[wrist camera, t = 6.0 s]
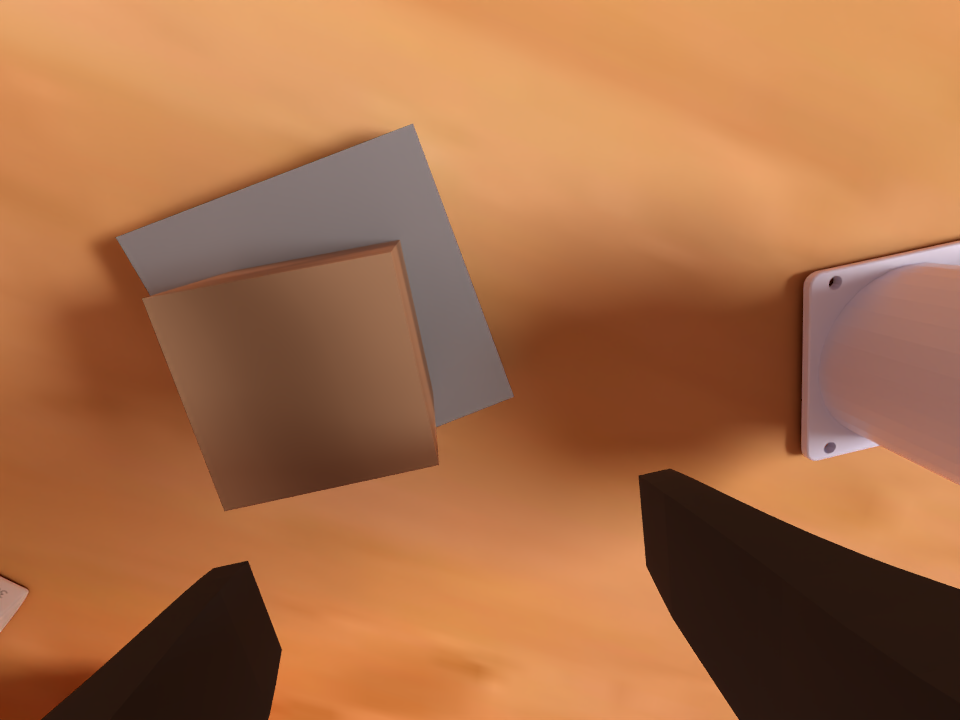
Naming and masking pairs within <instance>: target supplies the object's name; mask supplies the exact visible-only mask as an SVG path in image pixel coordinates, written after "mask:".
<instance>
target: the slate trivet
mask: <svg viewBox="0 0 960 720" xmlns="http://www.w3.org/2000/svg"><path fill="white" fill-rule="evenodd" d="M116 239H117V240H118V242H119V244H120V245H121V247H122V249H123V250H124V252H125V254H126V255H127V257H128V259H129V261H130V262H131V264H132V266H133V267H134V269H135V271H136V272H137V274H138V276H139V277H140V279H141V281H142V283H143V284H144V286H145V288H146V289H147V291H148V293H149V294H150V296H152V295H155V294H159V293H162V292H165V291H168V290H172V289H175V288H178V287H181V286H185V285H188V284H191V283H194V282H198V281H201V280H204V279H207V278H211V277H214V276H217V275H221V274H224V273H227V272H230V271H234V270H240V269H245V268H250V267H256V266H261V265H266V264H272V263H277V262H283V261H288V260H293V259H299V258H304V257H310V256H315V255H320V254H326V253H331V252H336V251H342V250H347V249H353V248H358V247H363V246H369V245H374V244H380V243H385V242H390V241H396V240H400V242H401V247H402V252H403V256H404V261H405V265H406V270H407V275H408V279H409V284H410V288H411V293H412V297H413V302H414V307H415V311H416V316H417V320H418V325H419V330H420V334H421V339H422V343H423V348H424V353H425V357H426V362H427V366H428V371H429V375H430V380H431V385H432V389H433V398H434V410H435V423H436V427H438V426H441V425H443V424H446V423H448V422H451V421H453V420H456V419H458V418H461V417H464V416H466V415H469V414H471V413H474V412H476V411H479V410H481V409H484V408H487V407H489V406H492V405H494V404H497V403H499V402H502V401H505V400H507V399H510V398H512V397H514V395H513V392H512V390H511V387H510V384H509V382H508V379H507V376H506V374H505V371H504V368H503V365H502V363H501V360H500V357H499V355H498V352H497V349H496V347H495V344H494V341H493V339H492V336H491V333H490V330H489V328H488V325H487V322H486V320H485V317H484V314H483V312H482V309H481V306H480V303H479V301H478V298H477V295H476V293H475V290H474V287H473V285H472V282H471V279H470V276H469V274H468V271H467V268H466V266H465V263H464V260H463V258H462V255H461V252H460V249H459V247H458V244H457V241H456V239H455V236H454V233H453V231H452V228H451V225H450V223H449V220H448V217H447V214H446V212H445V209H444V206H443V204H442V201H441V198H440V196H439V193H438V190H437V187H436V185H435V182H434V179H433V177H432V174H431V171H430V169H429V166H428V163H427V160H426V158H425V155H424V152H423V150H422V147H421V144H420V142H419V139H418V136H417V133H416V131H415V128H414V125H413V124H411V125H408V126H405V127H403V128H400V129H398V130H395V131H392V132H390V133H387V134H385V135H382V136H379V137H377V138H374V139H371V140H369V141H366V142H364V143H361V144H358V145H356V146H353V147H351V148H348V149H345V150H343V151H340V152H338V153H335V154H332V155H330V156H327V157H324V158H322V159H319V160H317V161H314V162H311V163H309V164H306V165H304V166H301V167H298V168H296V169H293V170H291V171H288V172H285V173H283V174H280V175H277V176H275V177H272V178H270V179H267V180H264V181H262V182H259V183H257V184H254V185H251V186H249V187H246V188H243V189H241V190H238V191H236V192H233V193H230V194H228V195H225V196H223V197H220V198H217V199H215V200H212V201H210V202H207V203H204V204H202V205H199V206H196V207H194V208H191V209H189V210H186V211H183V212H181V213H178V214H176V215H173V216H170V217H168V218H165V219H163V220H160V221H157V222H155V223H152V224H149V225H147V226H144V227H142V228H139V229H136V230H134V231H131V232H129V233H126V234H123V235H121V236H118V237H116Z"/></svg>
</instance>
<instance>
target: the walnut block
mask: <svg viewBox="0 0 960 720" xmlns="http://www.w3.org/2000/svg"><path fill="white" fill-rule="evenodd" d="M142 300H143V303H144V305H145V308H146V310H147V313H148V316H149V318H150V321H151V323H152V326H153V328H154V331H155V334H156V336H157V339H158V341H159V344H160V346H161V349H162V352H163V354H164V357H165V359H166V362H167V364H168V367H169V370H170V372H171V375H172V377H173V380H174V382H175V385H176V388H177V390H178V393H179V395H180V398H181V400H182V403H183V406H184V408H185V411H186V413H187V416H188V418H189V421H190V424H191V426H192V429H193V431H194V434H195V436H196V439H197V442H198V444H199V447H200V449H201V452H202V454H203V457H204V460H205V462H206V465H207V467H208V470H209V472H210V475H211V477H212V480H213V483H214V485H215V488H216V490H217V493H218V495H219V498H220V501H221V503H222V506H223V508H224V511H228V510H232V509H237V508H242V507H246V506H251V505H255V504H260V503H265V502H269V501H274V500H279V499H283V498H288V497H293V496H297V495H302V494H306V493H311V492H316V491H320V490H325V489H330V488H334V487H339V486H344V485H348V484H353V483H357V482H362V481H367V480H371V479H376V478H381V477H385V476H390V475H395V474H399V473H404V472H408V471H413V470H418V469H422V468H427V467H432V466H436V465H439V461H438V448H437V436H436V423H435V410H434V398H433V389H432V385H431V380H430V375H429V371H428V366H427V362H426V357H425V353H424V348H423V343H422V339H421V334H420V330H419V325H418V320H417V316H416V311H415V307H414V302H413V297H412V293H411V288H410V284H409V279H408V275H407V270H406V265H405V261H404V256H403V252H402V247H401V242H400V240H396V241H390V242H385V243H380V244H374V245H369V246H363V247H358V248H353V249H347V250H342V251H336V252H331V253H326V254H320V255H315V256H310V257H304V258H299V259H293V260H288V261H283V262H277V263H272V264H266V265H261V266H256V267H250V268H245V269H240V270H234V271H230V272H227V273H224V274H221V275H217V276H214V277H211V278H207V279H204V280H201V281H198V282H194V283H191V284H188V285H185V286H181V287H178V288H175V289H172V290H168V291H165V292H162V293H159V294H155V295H152V296H149V297H146V298H142Z"/></svg>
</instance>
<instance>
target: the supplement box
mask: <svg viewBox="0 0 960 720" xmlns="http://www.w3.org/2000/svg"><path fill="white" fill-rule="evenodd" d="M28 593H29V591H28V590H27V589H26V588H24V587H22V586H19V585H17V584H15V583H13V582H11V581H9V580H7V579H5V578H3V577H1V576H0V632H1V631H2V630H3V628H4V627H5V626H6V625H7V623H8V622H9V621H10V619H11V618H12V617H13V615H14V614H15V613H16V611H17V610H18V609H19V607H20V606H21V604H22V603H23V601H24V600H25V598H26V597H27V595H28Z"/></svg>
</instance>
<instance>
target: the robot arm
mask: <svg viewBox="0 0 960 720" xmlns="http://www.w3.org/2000/svg"><path fill="white" fill-rule="evenodd" d="M832 277H833V279H834V281H833V284H832V285H831V286H830V287H829V282H830V280H831V278H832ZM827 443H828V445H827V446H826V447H825V445H826V444H827ZM876 446H882V447H884V448H886V449H888V450H890V451H892V452H894V453H896V454H898V455H900V456H902V457H904V458H906V459H908V460H910V461H912V462H914V463H916V464H918V465H920V466H922V467H924V468H926V469H928V470H930V471H932V472H934V473H936V474H938V475H940V476H942V477H944V478H946V479H948V480H950V481H952V482H954V483H956V484H958V485H960V241H955V242H950V243H946V244H941V245H936V246H932V247H927V248H922V249H918V250H913V251H908V252H904V253H899V254H894V255H890V256H885V257H880V258H876V259H871V260H866V261H862V262H857V263H852V264H848V265H843V266H838V267H834V268H829V269H824V270H820V271H816V272H813V273H811V274H810V275H809V276H808V277H807V278H806V280H805V282H804V288H803V360H802V431H801V451H802V454H803V455H804V456H805V457H807V458H809V459H810V460H813V461H816V460H821V459H825V458H830V457H834V456H838V455H842V454H846V453H851V452H855V451H859V450H863V449H867V448H872V447H876ZM824 447H825V448H824ZM639 486H640V498H641V509H642V521H643V533H644V544H645V556H646V566H647V568H648V570H649V572H650V574H651V576H652V578H653V581H654V583H655V585H656V587H657V589H658V591H659V593H660V595H661V597H662V599H663V601H664V603H665V604H666V606H667V608H668V610H669V612H670V614H671V616H672V618H673V620H674V621H675V623H676V624H677V626H678V627H679V629H680V631H681V632H682V634H683V635H684V637H685V638H686V640H687V641H688V643H689V644H690V646H691V647H692V649H693V651H694V652H695V654H696V655H697V657H698V658H699V660H700V661H701V663H702V664H703V666H704V667H705V669H706V670H707V672H708V673H709V675H710V676H711V678H712V679H713V681H714V683H715V684H716V686H717V687H718V689H719V690H720V692H721V693H722V695H723V696H724V698H725V699H726V701H727V702H728V704H729V705H730V707H731V708H732V710H733V711H734V713H735V714H736V716H737V717H738V719H739V720H960V589H957V588H954V587H952V586H949V585H946V584H943V583H940V582H937V581H934V580H931V579H928V578H926V577H923V576H920V575H917V574H914V573H911V572H908V571H905V570H903V569H900V568H897V567H894V566H891V565H889V564H886V563H883V562H881V561H878V560H875V559H873V558H870V557H867V556H865V555H862V554H860V553H857V552H855V551H852V550H850V549H847V548H845V547H843V546H840V545H838V544H835V543H833V542H830V541H828V540H825V539H823V538H821V537H818V536H816V535H813V534H811V533H809V532H806V531H804V530H802V529H800V528H797V527H795V526H793V525H790V524H788V523H786V522H784V521H781V520H779V519H777V518H775V517H773V516H771V515H768V514H766V513H764V512H762V511H760V510H758V509H755V508H753V507H751V506H749V505H747V504H745V503H743V502H741V501H739V500H736V499H734V498H732V497H730V496H728V495H726V494H724V493H722V492H720V491H718V490H716V489H714V488H712V487H709V486H707V485H705V484H703V483H701V482H699V481H697V480H695V479H693V478H691V477H688V476H686V475H684V474H682V473H679V472H677V471H675V470H672V469H667V470H662V471H657V472H653V473H648V474H644V475H639ZM281 651H282V649H281V646H280V644H279V641H278V638H277V636H276V633H275V631H274V628H273V625H272V623H271V620H270V617H269V615H268V612H267V610H266V607H265V604H264V602H263V599H262V597H261V594H260V591H259V589H258V586H257V583H256V581H255V578H254V576H253V573H252V570H251V568H250V565H249V563H248V561H245V562H240V563H236V564H231V565H226V566H222V567H217V568H213V569H212V570H211V571H209V572H208V573H207V574H205V575H204V576H203V577H202V578H200V579H199V580H198V581H197V582H196V583H194V584H193V585H192V586H191V587H190V588H189V589H188V590H186V591H185V592H184V593H183V594H182V595H181V596H180V597H179V598H177V599H176V600H175V601H174V602H173V603H172V604H171V605H170V606H169V607H167V608H166V609H165V610H164V611H163V612H162V613H161V614H160V615H159V616H158V617H156V618H155V619H154V620H153V621H152V622H151V623H150V624H149V625H148V626H147V627H145V628H144V629H143V630H142V631H141V632H140V633H139V634H138V635H137V636H136V637H134V638H133V639H132V640H131V641H130V642H129V643H128V644H127V645H126V646H124V647H123V648H122V649H121V650H120V651H119V652H118V653H117V654H116V655H115V656H113V657H112V658H111V659H110V660H109V661H108V662H107V663H106V664H105V665H104V666H102V667H101V668H100V669H99V670H98V671H97V672H96V673H95V674H93V675H92V676H91V677H90V678H89V679H88V680H87V681H85V682H84V683H83V684H82V685H81V686H80V687H78V688H77V689H76V690H75V691H74V692H73V693H72V694H70V695H69V696H68V697H67V698H66V699H65V700H63V701H62V702H61V703H60V704H59V705H58V706H56V707H55V708H54V709H53V710H52V711H51V712H49V713H48V714H47V715H46V716H45V717H44V718H42V719H41V720H268V718H269V714H270V710H271V705H272V700H273V695H274V691H275V686H276V680H277V674H278V669H279V663H280V657H281Z"/></svg>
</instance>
